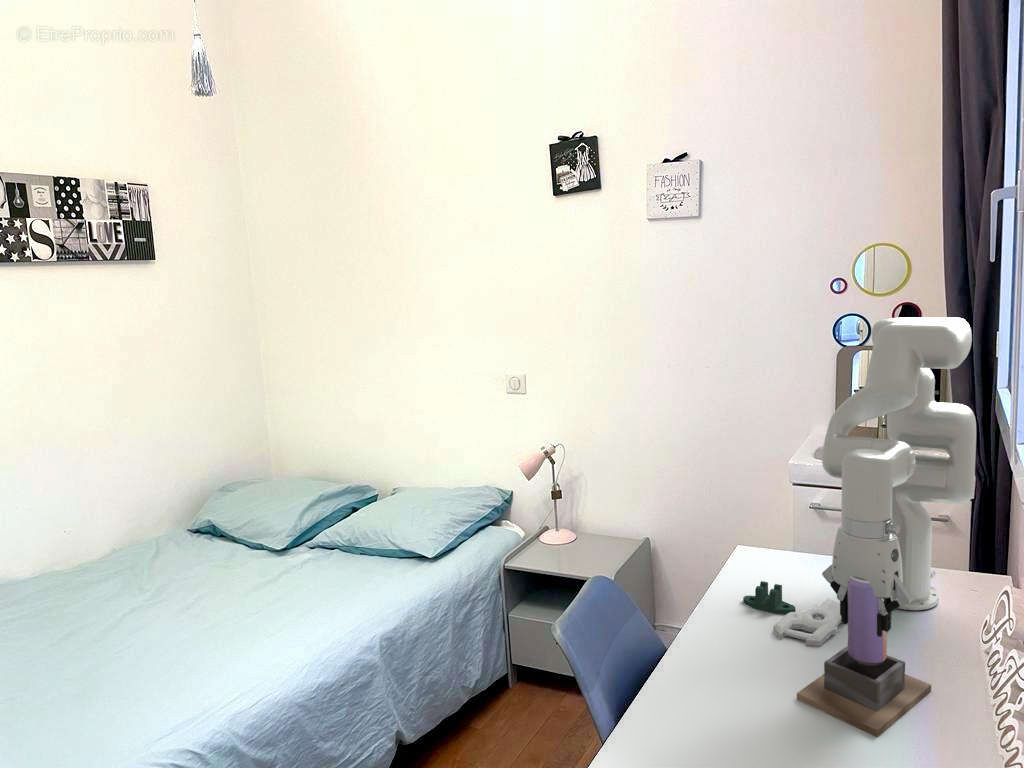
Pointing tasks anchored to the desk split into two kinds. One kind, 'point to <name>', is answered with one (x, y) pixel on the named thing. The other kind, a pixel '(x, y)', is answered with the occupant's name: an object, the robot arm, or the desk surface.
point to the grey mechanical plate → (811, 623)
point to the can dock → (864, 692)
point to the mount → (769, 600)
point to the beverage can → (864, 624)
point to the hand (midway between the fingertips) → (864, 626)
